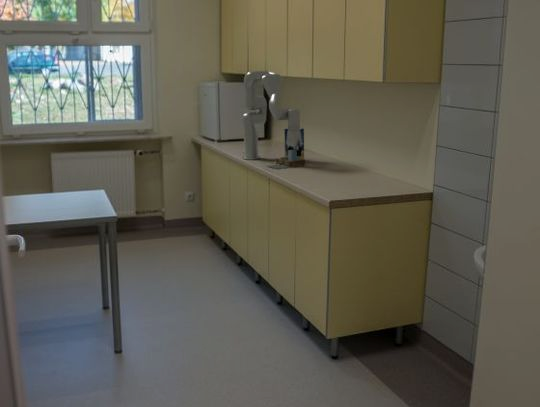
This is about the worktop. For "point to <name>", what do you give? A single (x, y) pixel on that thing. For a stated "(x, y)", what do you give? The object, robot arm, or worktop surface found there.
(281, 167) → the mat
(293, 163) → the rack
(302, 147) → the blue printed long box
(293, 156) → the tall pale blue pillar
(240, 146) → the worktop surface
